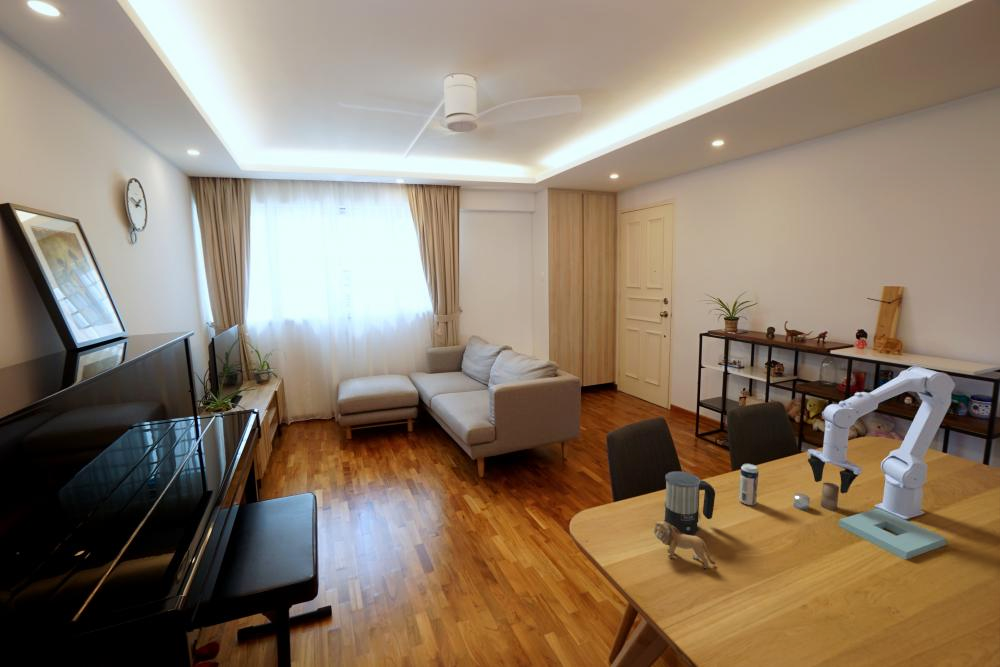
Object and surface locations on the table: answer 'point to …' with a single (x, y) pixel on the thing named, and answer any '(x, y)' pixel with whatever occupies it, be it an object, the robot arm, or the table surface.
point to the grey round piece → (801, 501)
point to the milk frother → (686, 501)
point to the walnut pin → (829, 496)
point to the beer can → (748, 484)
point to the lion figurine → (681, 541)
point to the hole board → (903, 545)
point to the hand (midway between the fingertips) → (830, 486)
